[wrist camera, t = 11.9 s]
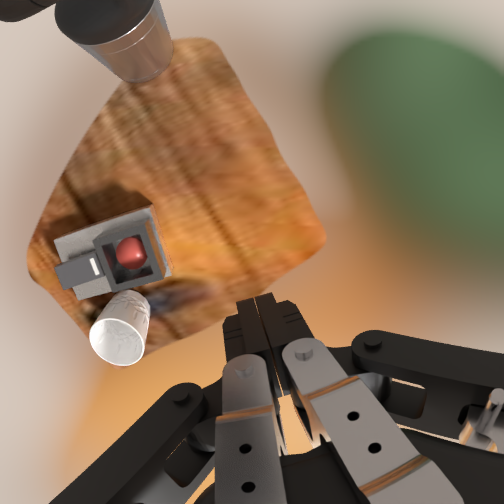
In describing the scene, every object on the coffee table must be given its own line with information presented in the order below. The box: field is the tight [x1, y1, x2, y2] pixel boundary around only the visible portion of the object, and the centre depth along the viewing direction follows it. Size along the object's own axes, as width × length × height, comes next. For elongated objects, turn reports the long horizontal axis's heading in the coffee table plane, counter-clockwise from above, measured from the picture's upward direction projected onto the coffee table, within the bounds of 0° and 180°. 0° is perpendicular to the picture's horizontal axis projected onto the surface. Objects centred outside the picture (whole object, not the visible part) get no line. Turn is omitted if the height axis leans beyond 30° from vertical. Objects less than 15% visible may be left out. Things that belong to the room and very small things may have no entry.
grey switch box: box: [54, 204, 174, 300], centre depth 39 cm, size 10×16×7 cm, turn 103°
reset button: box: [116, 235, 148, 270], centre depth 39 cm, size 4×4×1 cm
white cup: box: [89, 290, 150, 366], centre depth 41 cm, size 8×8×10 cm
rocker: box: [54, 250, 105, 290], centre depth 37 cm, size 4×7×2 cm, turn 103°
